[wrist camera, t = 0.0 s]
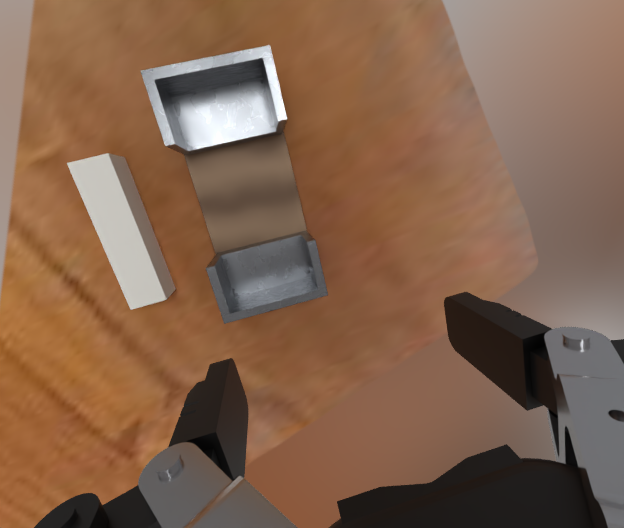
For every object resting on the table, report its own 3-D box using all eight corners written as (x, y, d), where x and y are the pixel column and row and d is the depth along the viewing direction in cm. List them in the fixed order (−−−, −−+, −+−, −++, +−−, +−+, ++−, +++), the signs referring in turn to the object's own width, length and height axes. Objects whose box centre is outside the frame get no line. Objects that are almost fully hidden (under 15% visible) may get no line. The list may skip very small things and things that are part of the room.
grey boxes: (167, 97, 32) (140, 70, 25) (268, 76, 33) (269, 45, 26) (231, 298, 38) (224, 323, 31) (316, 275, 39) (327, 295, 32)
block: (88, 166, 35) (66, 163, 31) (125, 157, 35) (108, 153, 31) (143, 298, 39) (130, 309, 35) (176, 288, 39) (166, 299, 35)
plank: (167, 91, 34) (161, 85, 32) (267, 70, 35) (267, 63, 33) (234, 302, 40) (232, 307, 38) (317, 279, 41) (319, 284, 39)
